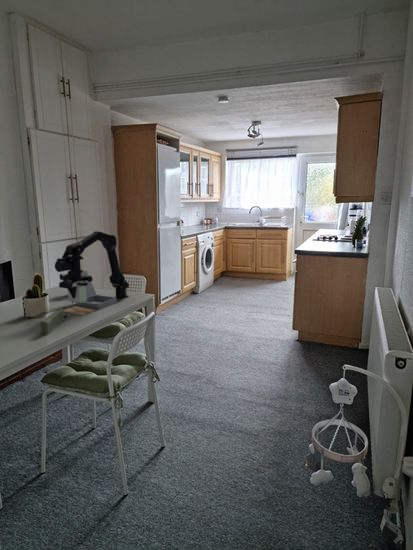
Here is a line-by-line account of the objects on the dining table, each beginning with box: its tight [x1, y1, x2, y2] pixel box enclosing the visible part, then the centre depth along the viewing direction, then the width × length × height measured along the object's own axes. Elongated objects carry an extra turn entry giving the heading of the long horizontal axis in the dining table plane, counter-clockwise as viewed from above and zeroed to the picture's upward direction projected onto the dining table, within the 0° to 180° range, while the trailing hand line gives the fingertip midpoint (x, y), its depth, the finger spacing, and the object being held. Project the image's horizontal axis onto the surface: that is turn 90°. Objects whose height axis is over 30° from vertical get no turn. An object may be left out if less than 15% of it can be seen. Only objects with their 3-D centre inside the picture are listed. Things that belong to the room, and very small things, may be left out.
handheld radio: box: [40, 307, 68, 336], centre depth 178 cm, size 7×3×25 cm
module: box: [67, 285, 87, 303], centre depth 198 cm, size 5×8×8 cm, turn 64°
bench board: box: [63, 305, 97, 317], centre depth 200 cm, size 11×15×1 cm
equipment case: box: [71, 270, 118, 311], centre depth 213 cm, size 16×23×17 cm
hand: (77, 297), depth 199 cm, fingers closed on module, 5 cm apart
